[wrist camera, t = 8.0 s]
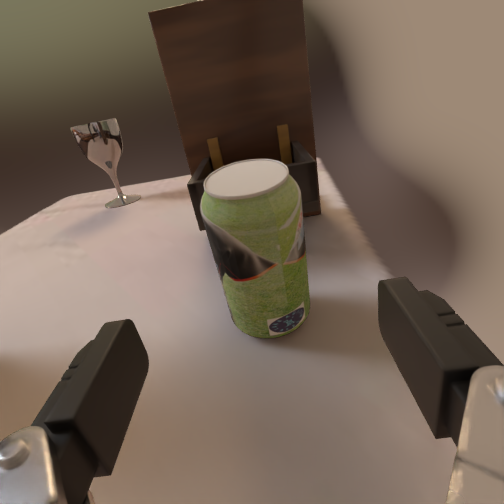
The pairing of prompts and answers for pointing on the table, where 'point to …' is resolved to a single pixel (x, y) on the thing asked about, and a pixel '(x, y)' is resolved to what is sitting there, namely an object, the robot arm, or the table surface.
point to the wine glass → (103, 152)
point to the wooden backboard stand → (240, 88)
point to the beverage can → (258, 245)
